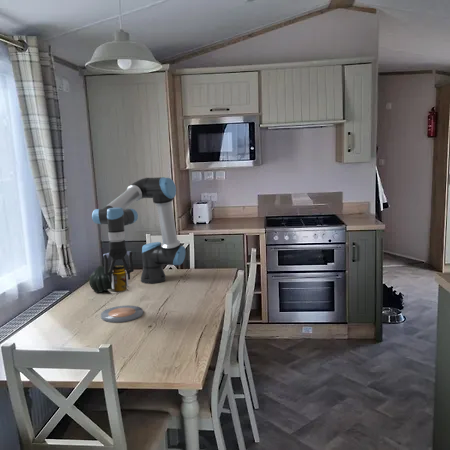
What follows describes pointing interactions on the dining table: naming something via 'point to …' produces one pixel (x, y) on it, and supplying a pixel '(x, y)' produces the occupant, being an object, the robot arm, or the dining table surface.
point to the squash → (100, 280)
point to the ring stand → (122, 313)
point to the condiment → (119, 279)
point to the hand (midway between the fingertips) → (120, 287)
